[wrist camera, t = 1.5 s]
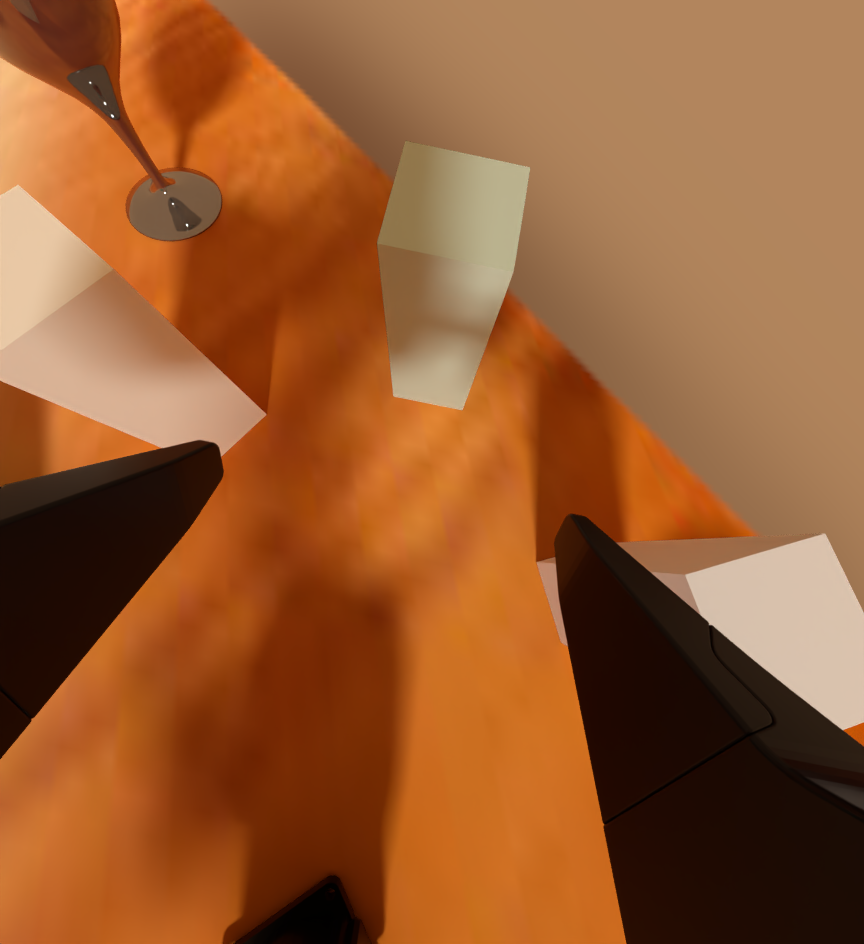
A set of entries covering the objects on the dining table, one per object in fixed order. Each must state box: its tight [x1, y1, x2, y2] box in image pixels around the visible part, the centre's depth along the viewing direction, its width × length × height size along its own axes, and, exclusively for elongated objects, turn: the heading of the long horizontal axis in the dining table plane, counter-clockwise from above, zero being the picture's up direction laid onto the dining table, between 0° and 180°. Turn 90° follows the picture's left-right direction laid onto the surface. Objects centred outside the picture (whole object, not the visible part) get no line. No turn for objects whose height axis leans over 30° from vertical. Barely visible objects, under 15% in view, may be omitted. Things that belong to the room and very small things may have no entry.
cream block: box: [0, 185, 267, 457], centre depth 17 cm, size 5×5×12 cm
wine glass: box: [0, 0, 222, 241], centre depth 20 cm, size 8×8×15 cm
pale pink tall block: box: [537, 533, 864, 730], centre depth 16 cm, size 5×5×12 cm
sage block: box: [377, 141, 530, 410], centre depth 19 cm, size 5×5×12 cm
